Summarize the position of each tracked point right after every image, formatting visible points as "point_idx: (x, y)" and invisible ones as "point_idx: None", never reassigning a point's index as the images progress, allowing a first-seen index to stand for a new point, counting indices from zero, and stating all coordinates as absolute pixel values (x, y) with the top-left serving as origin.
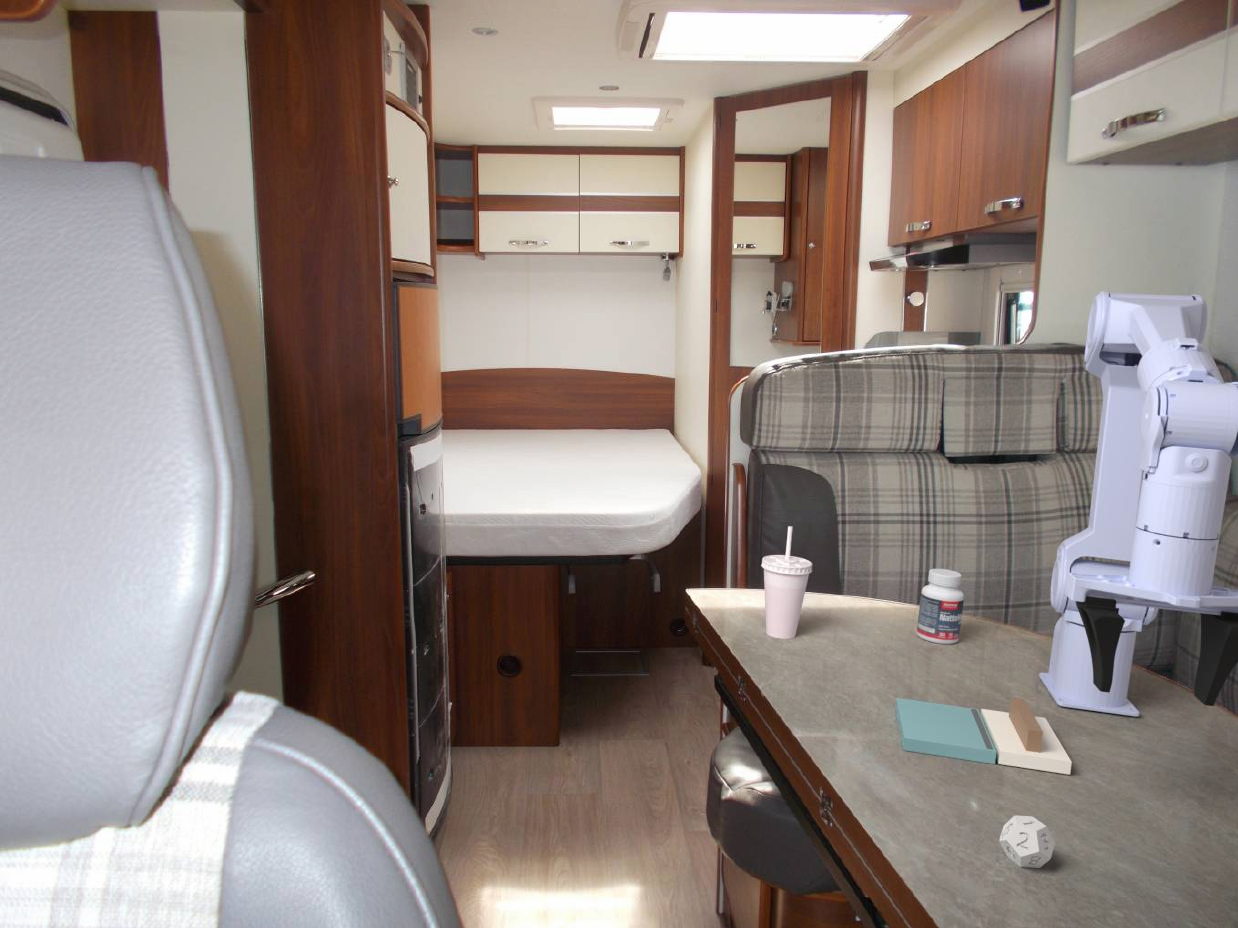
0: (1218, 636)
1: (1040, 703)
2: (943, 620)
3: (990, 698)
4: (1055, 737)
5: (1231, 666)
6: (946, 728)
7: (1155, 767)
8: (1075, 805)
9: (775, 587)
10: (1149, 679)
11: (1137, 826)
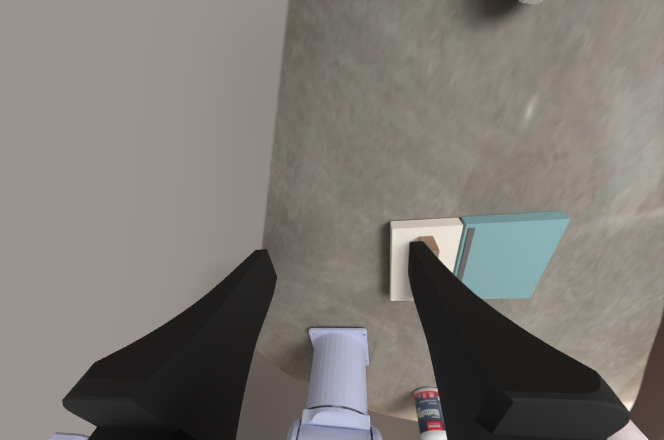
0: (202, 372)
1: (378, 328)
2: (435, 409)
3: (418, 326)
4: (392, 270)
5: (202, 301)
6: (503, 254)
7: (311, 261)
8: (403, 161)
9: (636, 431)
10: (292, 373)
11: (350, 141)
